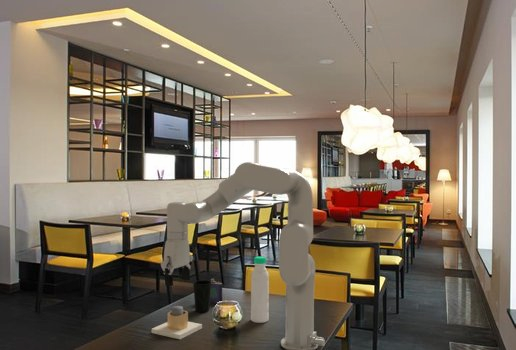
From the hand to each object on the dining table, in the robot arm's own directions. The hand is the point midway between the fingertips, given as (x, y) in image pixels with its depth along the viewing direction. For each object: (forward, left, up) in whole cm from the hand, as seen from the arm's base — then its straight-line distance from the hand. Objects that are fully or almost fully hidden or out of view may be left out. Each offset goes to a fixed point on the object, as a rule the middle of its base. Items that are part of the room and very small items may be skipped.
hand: (177, 282), depth 169 cm
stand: (0, 0, -18) cm, 18 cm away
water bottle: (-21, -25, -18) cm, 37 cm away
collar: (0, 0, -16) cm, 16 cm away
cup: (+6, -24, -18) cm, 31 cm away
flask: (+9, -36, -18) cm, 41 cm away
